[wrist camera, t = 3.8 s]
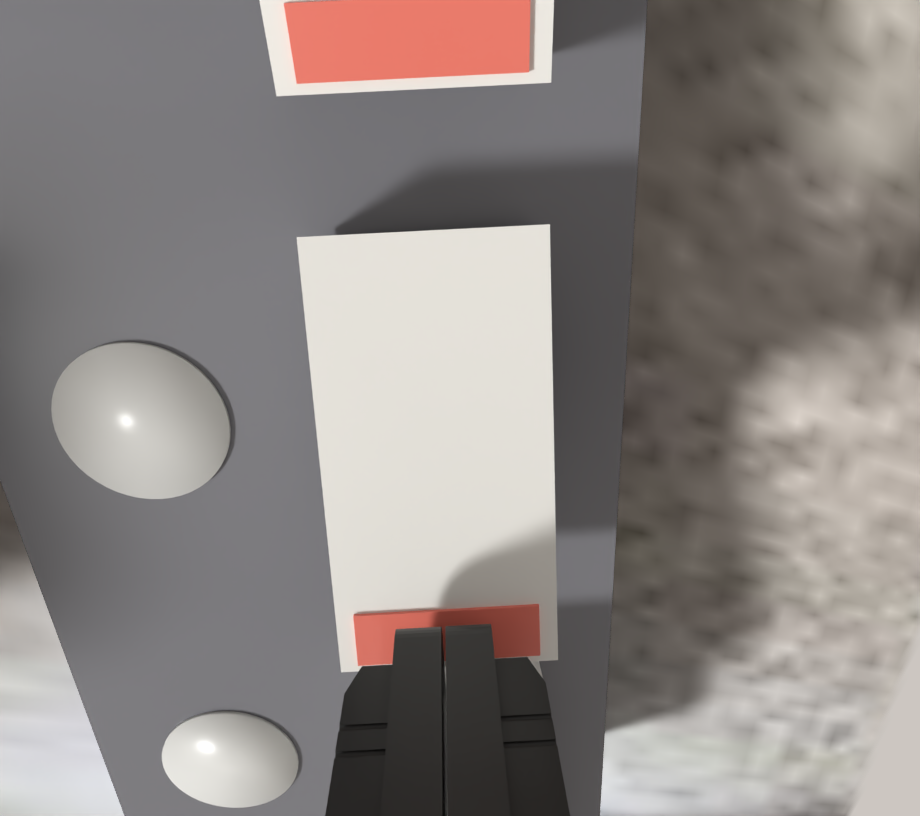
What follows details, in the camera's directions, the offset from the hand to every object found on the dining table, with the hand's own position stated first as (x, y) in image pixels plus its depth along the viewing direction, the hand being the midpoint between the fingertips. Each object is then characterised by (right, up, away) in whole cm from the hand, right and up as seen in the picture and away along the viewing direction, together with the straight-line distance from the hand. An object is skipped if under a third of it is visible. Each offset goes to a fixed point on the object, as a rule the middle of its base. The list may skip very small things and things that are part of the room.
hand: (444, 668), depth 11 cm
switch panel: (-3, +10, +4) cm, 11 cm away
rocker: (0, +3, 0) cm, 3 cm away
